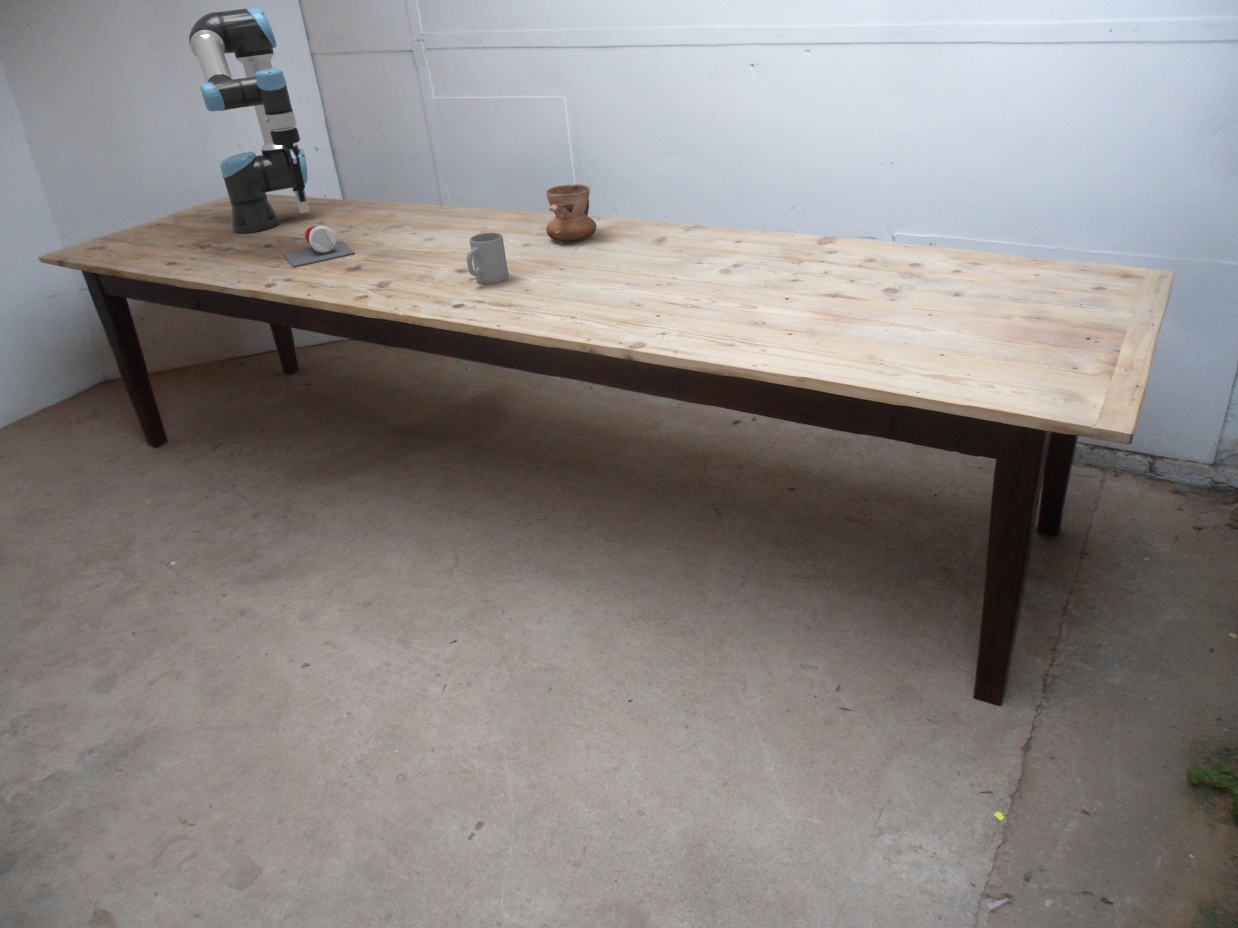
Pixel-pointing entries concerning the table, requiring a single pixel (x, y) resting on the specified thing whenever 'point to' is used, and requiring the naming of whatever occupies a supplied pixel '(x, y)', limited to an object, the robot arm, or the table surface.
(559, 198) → the ceramic jug
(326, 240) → the paper cup
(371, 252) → the table surface
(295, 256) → the rubber mat
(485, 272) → the mug
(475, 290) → the table surface
